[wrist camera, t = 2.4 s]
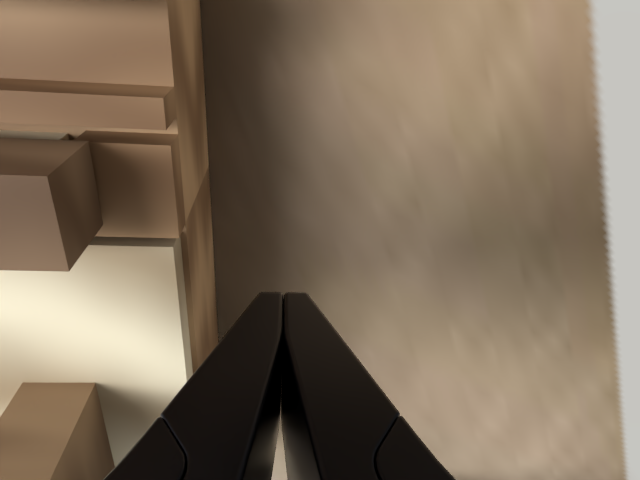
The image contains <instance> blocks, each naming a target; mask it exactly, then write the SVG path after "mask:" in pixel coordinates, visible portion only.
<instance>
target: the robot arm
mask: <svg viewBox="0 0 640 480" xmlns="http://www.w3.org/2000/svg"><path fill="white" fill-rule="evenodd" d="M281 379H282V382H281ZM280 409H281V420H282V432H283V441H284V450H285V459H286V469H287V478H288V480H455V479H454V477H453V476H452V475H451V474H450V473H449V472H448V471H447V470H446V469H445V468H444V467H443V466H442V464H441V463H440V462H439V461H438V460H437V459H436V458H435V456H434V455H433V454H432V453H431V452H430V450H429V449H428V448H427V447H426V445H425V444H424V443H423V442H422V441H421V439H420V438H419V437H418V436H417V435H416V433H415V432H414V431H413V429H412V428H411V427H410V425H409V424H408V423H407V422H406V420H405V419H404V418H403V417H402V416H400V413H399V411H398V410H397V409H396V408H395V406H394V405H393V404H392V402H391V401H390V400H389V399H388V397H387V396H386V395H385V393H384V392H383V391H382V389H381V388H380V387H379V386H378V384H377V383H376V382H375V380H374V379H373V378H372V377H371V375H370V374H369V373H368V371H367V370H366V369H365V368H364V366H363V365H362V364H361V362H360V361H359V360H358V358H357V357H356V356H355V355H354V353H353V352H352V351H351V349H350V348H349V347H348V346H347V344H346V343H345V342H344V340H343V339H342V338H341V336H340V335H339V334H338V333H337V331H336V330H335V329H334V327H333V326H332V325H331V324H330V322H329V321H328V320H327V318H326V317H325V316H324V315H323V313H322V312H321V311H320V309H319V308H318V307H317V305H316V304H315V303H314V302H313V300H312V299H311V298H310V296H309V295H308V294H307V293H295V292H287V293H285V294H284V300H283V294H282V293H280V292H261V293H259V294H258V295H257V297H256V298H255V299H254V300H253V302H252V303H251V304H250V305H249V306H248V308H247V309H246V310H245V311H244V313H243V314H242V315H241V316H240V317H239V319H238V320H237V321H236V322H235V324H234V325H233V326H232V327H231V328H230V330H229V331H228V332H227V333H226V335H225V336H224V337H223V338H222V339H221V341H220V342H219V343H218V344H217V346H216V347H215V348H214V349H213V350H212V352H211V353H210V354H209V355H208V357H207V358H206V359H205V360H204V361H203V363H202V364H201V365H200V366H199V368H198V369H197V370H196V371H195V372H194V374H193V375H192V376H191V377H190V379H189V380H188V381H187V382H186V383H185V385H184V386H183V387H182V388H181V390H180V391H179V392H178V393H177V394H176V396H175V397H174V398H173V399H172V401H171V402H170V403H169V404H168V405H167V407H166V408H165V409H164V410H163V412H162V413H161V414H160V417H158V418H157V419H156V420H155V421H154V422H153V423H152V425H151V426H150V427H149V428H148V430H147V431H146V432H145V433H144V435H143V436H142V437H141V438H140V439H139V440H138V442H137V443H136V444H135V445H134V446H133V447H132V448H131V450H130V451H129V452H128V453H127V454H126V455H125V456H124V458H123V459H122V460H121V461H120V462H119V463H118V464H117V466H116V467H115V468H114V469H113V470H112V471H111V472H110V473H109V474H108V475H107V476H106V477H105V478H104V479H103V480H271V477H272V470H273V463H274V457H275V450H276V443H277V437H278V430H279V421H280Z"/></svg>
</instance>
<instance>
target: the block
mask: <svg viewBox="0 0 640 480" xmlns="http://www.w3.org/2000/svg"><path fill="white" fill-rule="evenodd" d="M102 226H103V220H102V214H101V209H100V203H99V198H98V192H97V186H96V181H95V175H94V170H93V164H92V159H91V153H90V147H89V142H88V141H75V140H51V139H26V138H2V137H0V270H11V271H63V272H69V271H70V270H71V268H72V267H73V266H74V264H75V263H76V261H77V260H78V259H79V257H80V256H81V255H82V253H83V252H84V250H85V249H86V248H87V246H88V245H89V244H90V242H91V241H92V239H93V238H94V237H95V235H96V234H97V233H98V231H99V230H100V228H101V227H102Z"/></svg>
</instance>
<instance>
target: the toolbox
mask: <svg viewBox="0 0 640 480" xmlns="http://www.w3.org/2000/svg"><path fill="white" fill-rule="evenodd" d="M0 130H7V131H31V132H55V133H68V136H69V140H75V141H88V142H89V147H90V153H91V159H92V164H93V170H94V175H95V181H96V186H97V192H98V198H99V203H100V209H101V214H102V220H103V226H102V227H101V228H100V230H99V231H98V233H97V234H96V235H95V236H101V237H141V238H181V249H182V260H183V271H184V282H185V293H186V304H187V314H188V325H189V336H190V347H191V358H192V369H193V374H194V372H195V371H196V370H197V369H198V368H199V366H200V365H201V364H202V363H203V361H204V360H205V359H206V358H207V357H208V355H209V354H210V353H211V352H212V350H213V349H214V348H215V347H216V346H217V344H218V325H217V306H216V288H215V270H214V251H213V233H212V214H211V196H210V177H209V159H208V140H207V122H206V104H205V85H204V67H203V48H202V30H201V11H200V0H0Z"/></svg>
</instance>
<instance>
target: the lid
mask: <svg viewBox="0 0 640 480" xmlns="http://www.w3.org/2000/svg"><path fill="white" fill-rule="evenodd" d="M0 137H2V138H26V139H51V140H69V136H68V133H55V132H31V131H7V130H0ZM192 375H193V369H192V358H191V347H190V336H189V325H188V314H187V304H186V293H185V282H184V271H183V260H182V249H181V238H141V237H101V236H95V237H94V238H93V239H92V241H91V242H90V244H89V245H88V246H87V248H86V249H85V250H84V252H83V253H82V255H81V256H80V257H79V259H78V260H77V261H76V263H75V264H74V266H73V267H72V268H71V270H70V271H69V272H63V271H11V270H0V480H103V479H104V478H105V477H106V476H107V475H108V474H109V473H110V472H111V471H112V470H113V469H114V468H115V467H116V466H117V464H118V463H119V462H120V461H121V460H122V459H123V458H124V456H125V455H126V454H127V453H128V452H129V451H130V450H131V448H132V447H133V446H134V445H135V444H136V443H137V442H138V440H139V439H140V438H141V437H142V436H143V435H144V433H145V432H146V431H147V430H148V428H149V427H150V426H151V425H152V423H153V422H154V421H155V420H156V419H157V418H158V417H160V414H161V413H162V412H163V410H164V409H165V408H166V407H167V405H168V404H169V403H170V402H171V401H172V399H173V398H174V397H175V396H176V394H177V393H178V392H179V391H180V390H181V388H182V387H183V386H184V385H185V383H186V382H187V381H188V380H189V379H190V377H191V376H192Z"/></svg>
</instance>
